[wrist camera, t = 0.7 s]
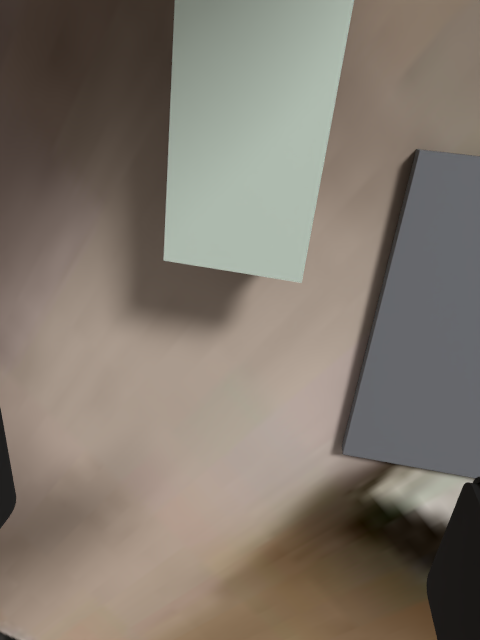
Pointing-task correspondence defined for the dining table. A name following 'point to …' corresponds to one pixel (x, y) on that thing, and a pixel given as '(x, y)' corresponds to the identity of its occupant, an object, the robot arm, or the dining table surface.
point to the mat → (426, 329)
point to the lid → (250, 130)
